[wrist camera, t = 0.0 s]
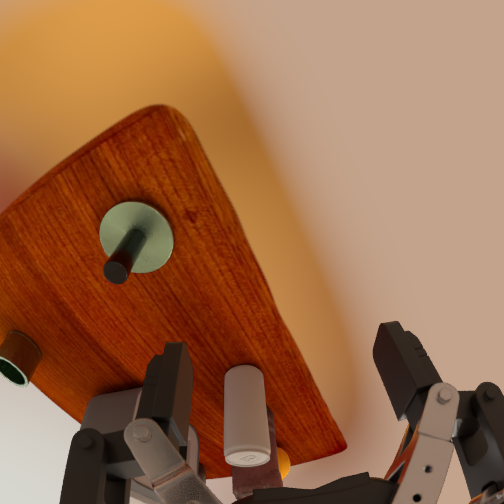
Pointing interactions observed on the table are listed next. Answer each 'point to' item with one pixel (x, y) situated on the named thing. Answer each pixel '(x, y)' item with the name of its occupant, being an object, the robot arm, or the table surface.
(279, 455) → the orange
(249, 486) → the can
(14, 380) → the pot
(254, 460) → the beverage can
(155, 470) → the robot arm
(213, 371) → the table surface
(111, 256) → the lid
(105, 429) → the alarm clock
